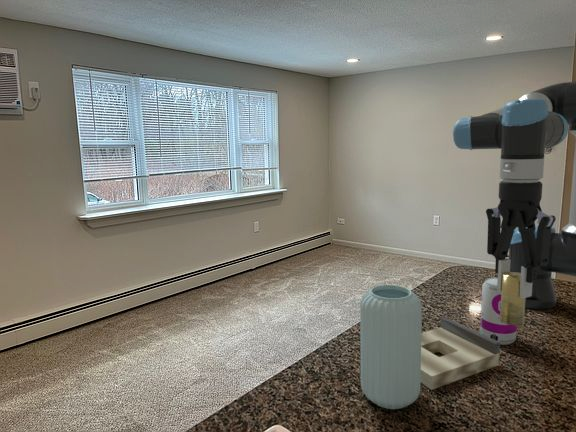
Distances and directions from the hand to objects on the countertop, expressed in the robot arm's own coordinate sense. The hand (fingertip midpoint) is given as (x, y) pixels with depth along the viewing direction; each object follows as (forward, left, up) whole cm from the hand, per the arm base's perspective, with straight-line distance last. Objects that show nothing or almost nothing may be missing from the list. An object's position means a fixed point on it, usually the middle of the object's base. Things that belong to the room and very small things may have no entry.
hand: (513, 292), depth 87 cm
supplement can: (-13, -13, -19) cm, 26 cm away
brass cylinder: (0, 0, -6) cm, 6 cm away
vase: (+27, -6, -19) cm, 34 cm away
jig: (+8, -12, -19) cm, 24 cm away
